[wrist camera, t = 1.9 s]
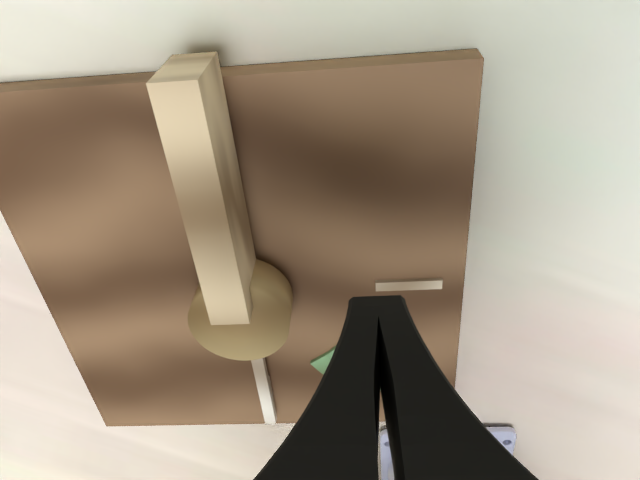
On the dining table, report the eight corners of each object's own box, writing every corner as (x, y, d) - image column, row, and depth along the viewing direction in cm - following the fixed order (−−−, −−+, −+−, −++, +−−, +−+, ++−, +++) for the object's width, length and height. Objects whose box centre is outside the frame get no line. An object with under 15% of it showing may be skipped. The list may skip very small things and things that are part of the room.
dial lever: (310, 417, 30) (307, 466, 27) (232, 418, 30) (222, 468, 28) (257, 48, 19) (243, 76, 16) (133, 57, 19) (101, 86, 16)
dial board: (448, 402, 31) (452, 423, 30) (113, 409, 33) (105, 429, 32) (477, 48, 20) (485, 59, 19) (-38, 85, 21) (-60, 97, 20)
